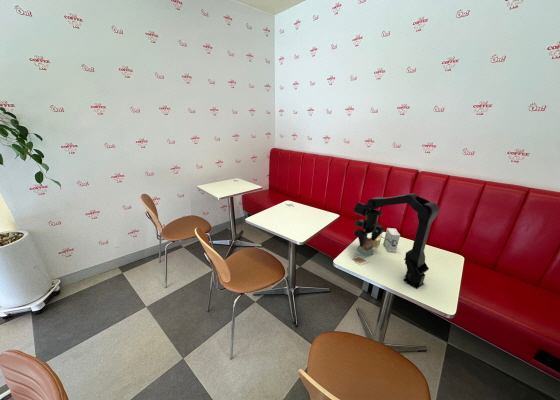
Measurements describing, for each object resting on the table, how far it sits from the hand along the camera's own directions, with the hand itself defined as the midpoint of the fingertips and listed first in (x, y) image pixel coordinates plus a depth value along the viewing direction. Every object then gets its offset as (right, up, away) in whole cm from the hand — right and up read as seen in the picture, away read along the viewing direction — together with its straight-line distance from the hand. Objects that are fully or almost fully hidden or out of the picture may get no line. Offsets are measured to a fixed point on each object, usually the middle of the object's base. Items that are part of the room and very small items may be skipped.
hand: (366, 244), depth 122 cm
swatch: (-6, -8, -5) cm, 11 cm away
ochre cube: (+9, -3, +11) cm, 14 cm away
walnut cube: (0, -2, +1) cm, 2 cm away
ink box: (+17, -4, +8) cm, 19 cm away
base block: (0, -6, +2) cm, 6 cm away
